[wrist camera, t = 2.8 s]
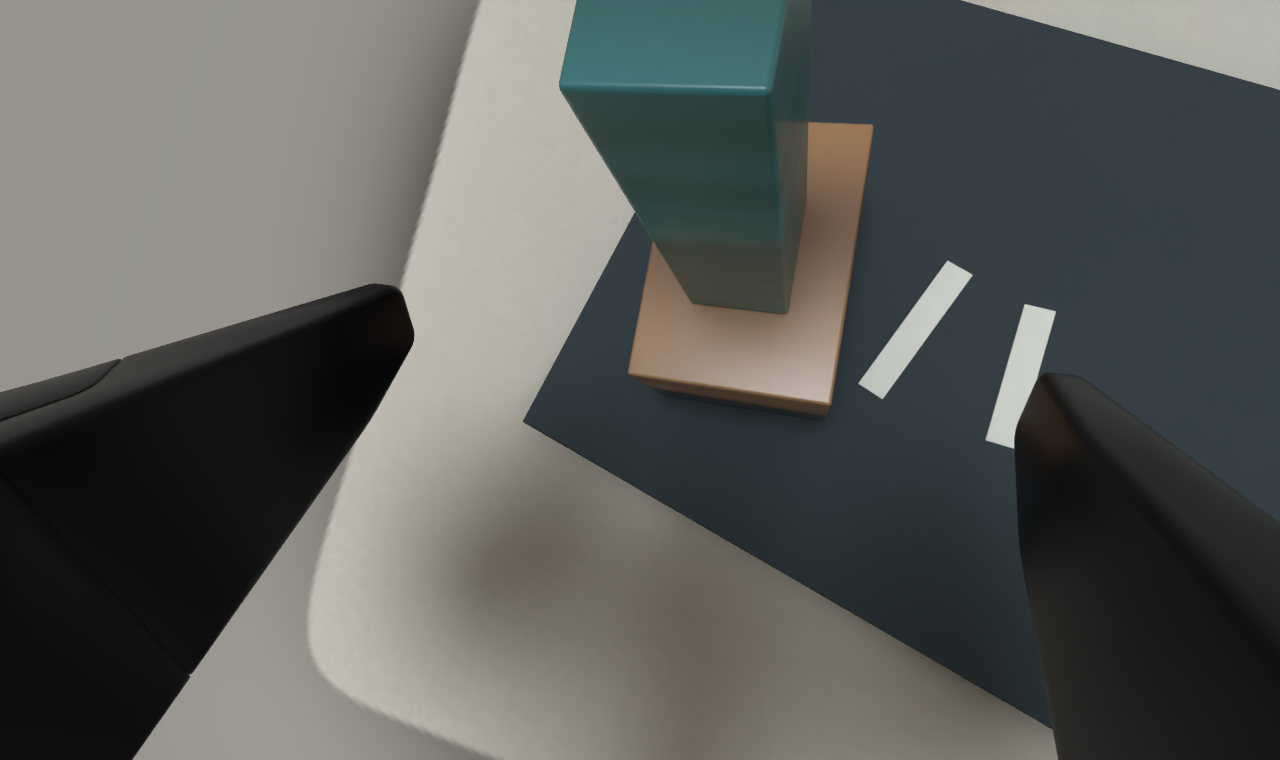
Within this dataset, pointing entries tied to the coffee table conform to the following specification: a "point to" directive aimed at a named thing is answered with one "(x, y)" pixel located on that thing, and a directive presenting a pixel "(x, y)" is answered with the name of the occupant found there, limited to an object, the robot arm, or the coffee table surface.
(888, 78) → the slate mat
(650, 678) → the coffee table surface
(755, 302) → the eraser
